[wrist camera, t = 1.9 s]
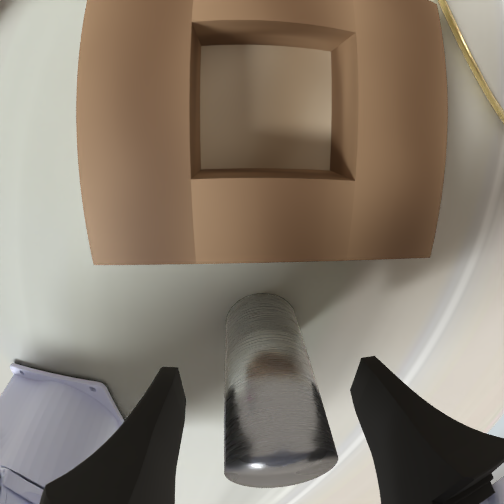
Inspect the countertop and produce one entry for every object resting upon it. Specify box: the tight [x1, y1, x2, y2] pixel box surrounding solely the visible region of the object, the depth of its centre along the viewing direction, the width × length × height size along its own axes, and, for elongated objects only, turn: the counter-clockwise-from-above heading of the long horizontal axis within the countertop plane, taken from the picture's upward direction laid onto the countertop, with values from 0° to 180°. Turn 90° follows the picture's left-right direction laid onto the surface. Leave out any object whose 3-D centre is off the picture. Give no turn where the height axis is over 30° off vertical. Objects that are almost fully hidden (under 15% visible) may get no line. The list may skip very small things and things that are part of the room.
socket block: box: [76, 0, 448, 265], centre depth 9 cm, size 12×10×4 cm
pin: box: [224, 294, 338, 488], centre depth 10 cm, size 4×4×8 cm
